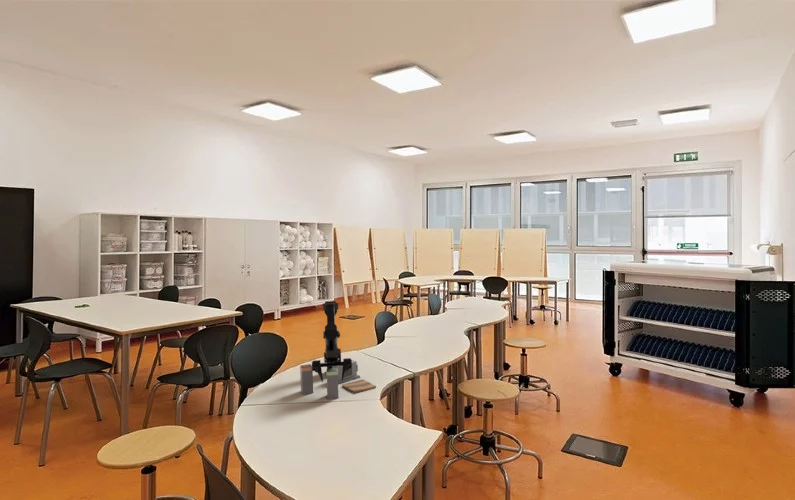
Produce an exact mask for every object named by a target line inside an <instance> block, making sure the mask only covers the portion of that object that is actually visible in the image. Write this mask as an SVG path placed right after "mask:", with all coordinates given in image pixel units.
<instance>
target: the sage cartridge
mask: <svg viewBox="0 0 795 500" xmlns="http://www.w3.org/2000/svg"><path fill="white" fill-rule="evenodd" d="M325 372H326V373H325V374H326V390H327V391H326V392H327V393H326V394H327V400H332V399H339V384H338V368H332V369H327V368H326V371H325Z"/></svg>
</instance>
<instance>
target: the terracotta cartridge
mask: <svg viewBox="0 0 795 500" xmlns="http://www.w3.org/2000/svg"><path fill="white" fill-rule="evenodd" d="M299 370H300V372H299V373H300V392H301V394H302V395H308V394H313V393H314V373H313V372H314V371H312V363H309V364H302V365H299Z"/></svg>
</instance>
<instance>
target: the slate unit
mask: <svg viewBox="0 0 795 500" xmlns="http://www.w3.org/2000/svg"><path fill="white" fill-rule="evenodd" d="M332 368H338V385H340V384H345V383H346V382H347V383H348V382H350V381H355V380H357V379H359V378H361V375H359V374H358V372H359V364H357V361H356V360H354V359H352V368H351V369H349V370H347V371H346V373H345V375H344V379H343V381H342V370H343V366H332Z"/></svg>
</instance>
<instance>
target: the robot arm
mask: <svg viewBox="0 0 795 500" xmlns="http://www.w3.org/2000/svg"><path fill="white" fill-rule="evenodd" d="M322 311H324V314H325V316H326V325H325V326H324V331H323V335H322V337H323V338H322V339H325V341H324V342H325V349H324V352H323V362H321V359H319V360H316V359H315V360H312V361H311V365H312V371H313V372H315V373H317V374H318V376H319V378H320V380H321V382H322V383H323V382H324V378H323V370H322V368H326V370H327V369H332V366H343V370H342V381H343V379H344V375H345V373H346V371H347V370H349V369H351V368H352V360H353V359H352V358H349V357H347V358H343V359H342V352H341V351H342V349H341V348H339V347H338V339H339V338H340V337H341V332H340V330H338V326H337V325H336V321H335V320H336V319H335V317H336V315H337V313H338V311H339V302H337V301H336V300H331V301H329V300H326V301H325V302H324V303H322ZM324 373H325V374H326V371H324Z"/></svg>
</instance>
